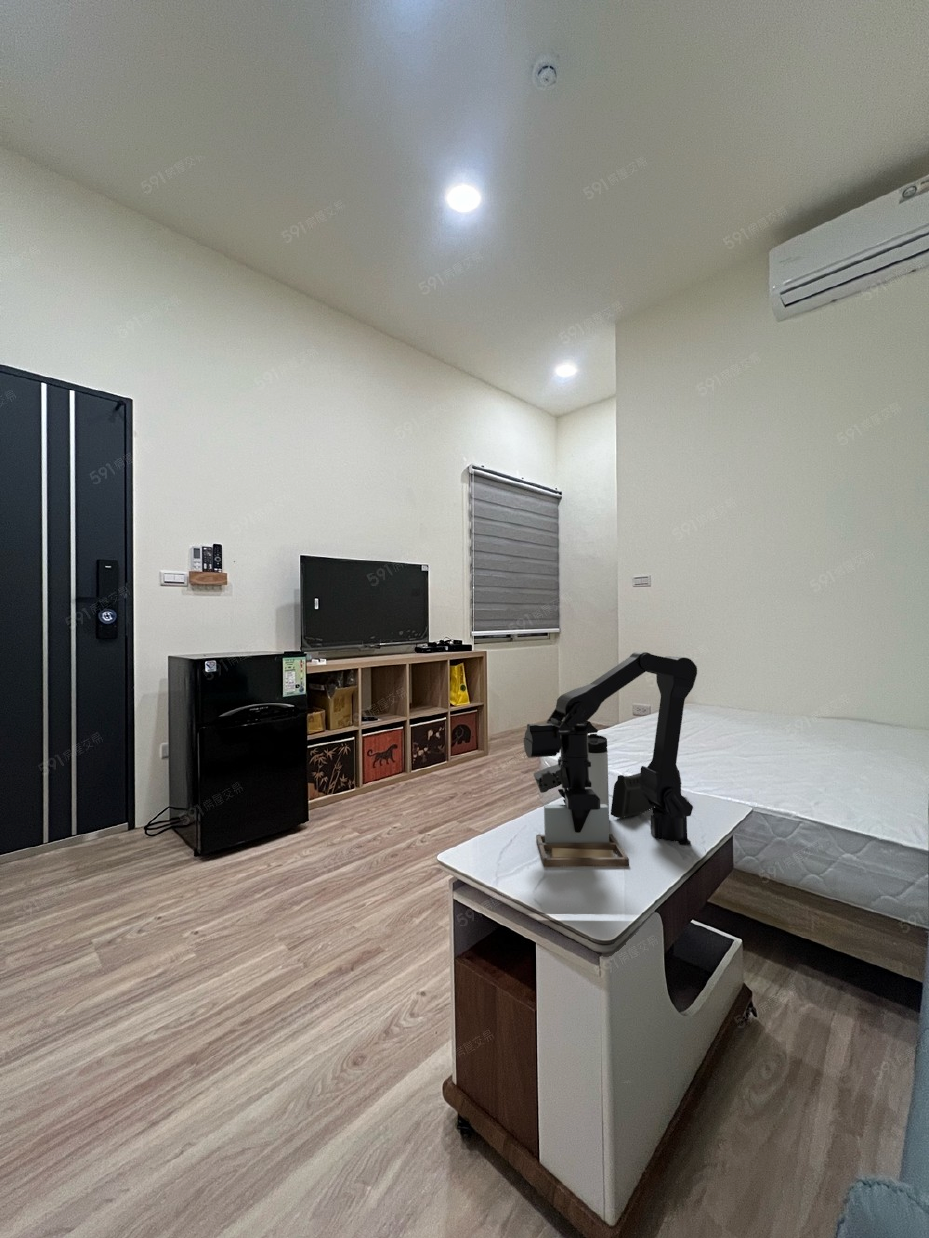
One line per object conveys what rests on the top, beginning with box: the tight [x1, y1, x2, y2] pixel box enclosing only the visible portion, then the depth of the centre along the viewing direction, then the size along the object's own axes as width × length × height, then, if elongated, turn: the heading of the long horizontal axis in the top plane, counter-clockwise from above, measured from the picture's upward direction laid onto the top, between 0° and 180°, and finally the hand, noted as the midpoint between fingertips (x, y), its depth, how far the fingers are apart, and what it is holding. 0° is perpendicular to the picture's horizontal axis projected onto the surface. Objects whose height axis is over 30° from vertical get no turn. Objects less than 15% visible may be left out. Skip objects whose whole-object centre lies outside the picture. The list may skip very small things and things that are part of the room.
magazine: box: [610, 765, 682, 819], centre depth 131 cm, size 17×3×30 cm
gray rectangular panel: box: [543, 804, 610, 843], centre depth 106 cm, size 13×2×9 cm, turn 89°
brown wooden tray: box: [535, 833, 630, 868], centre depth 103 cm, size 16×12×2 cm
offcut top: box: [551, 848, 615, 858], centre depth 101 cm, size 12×4×1 cm, turn 82°
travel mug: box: [585, 733, 610, 818], centre depth 123 cm, size 6×7×20 cm
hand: (576, 829), depth 106 cm, fingers open, 3 cm apart
